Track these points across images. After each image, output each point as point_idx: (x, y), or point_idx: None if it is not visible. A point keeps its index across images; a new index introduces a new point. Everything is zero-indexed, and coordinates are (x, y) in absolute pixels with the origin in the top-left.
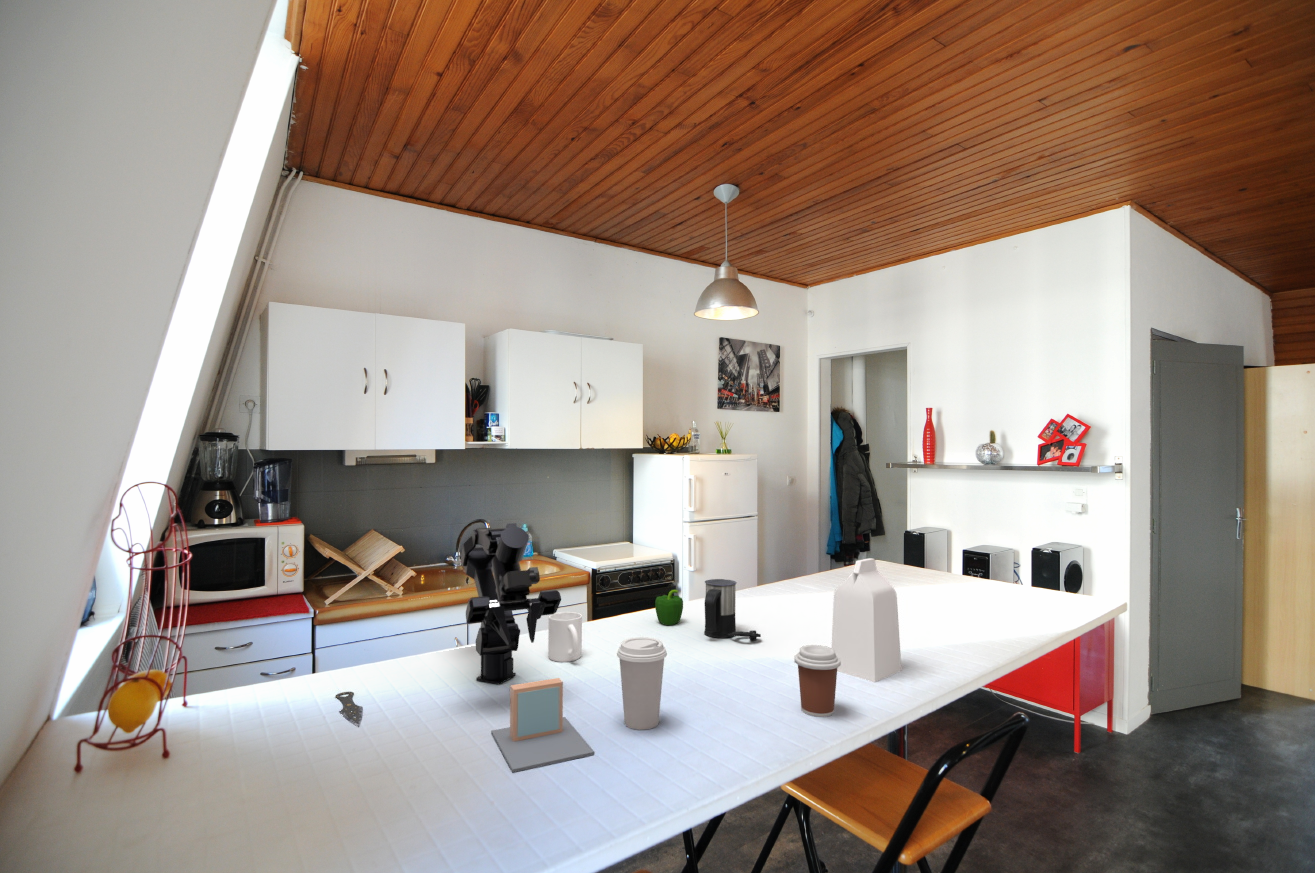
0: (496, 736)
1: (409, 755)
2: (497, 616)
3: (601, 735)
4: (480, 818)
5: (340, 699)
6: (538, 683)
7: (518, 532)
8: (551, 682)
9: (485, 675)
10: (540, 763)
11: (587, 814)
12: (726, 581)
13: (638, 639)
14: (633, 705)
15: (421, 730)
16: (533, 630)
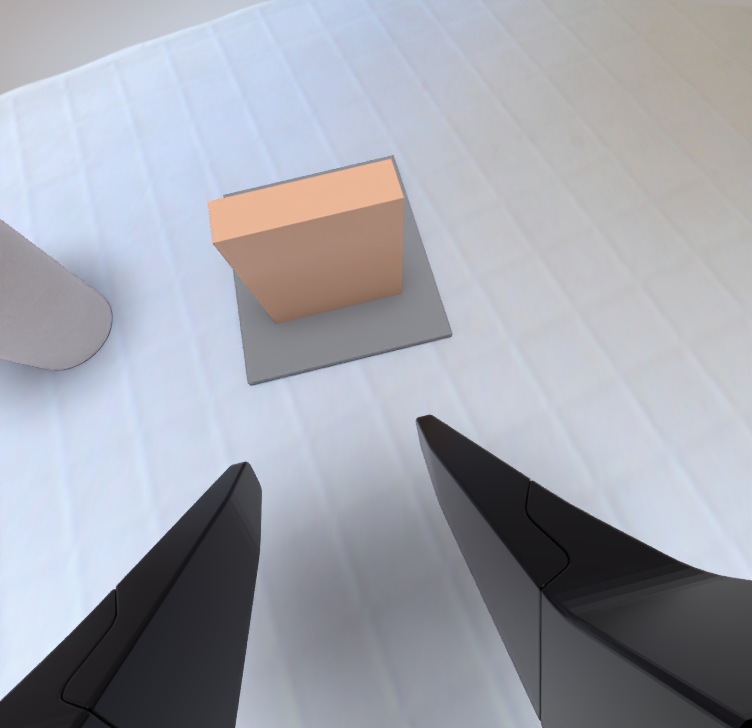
0: (435, 297)
1: (633, 256)
2: (706, 584)
3: (186, 278)
4: (439, 54)
5: None
6: (298, 200)
7: None
8: (249, 204)
9: None
10: (337, 169)
11: (283, 48)
12: None
13: None
14: (51, 257)
15: (656, 391)
16: (198, 516)
